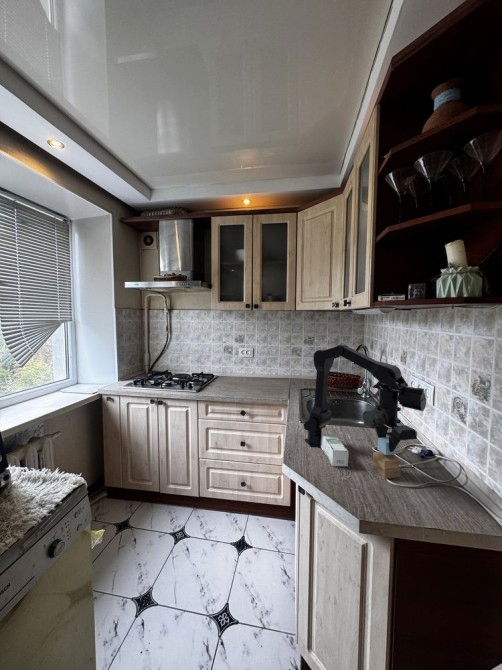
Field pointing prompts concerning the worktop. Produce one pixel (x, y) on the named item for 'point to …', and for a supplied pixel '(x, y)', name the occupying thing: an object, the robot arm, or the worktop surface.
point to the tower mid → (385, 460)
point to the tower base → (386, 471)
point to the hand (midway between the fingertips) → (386, 448)
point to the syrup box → (334, 450)
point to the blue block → (384, 446)
